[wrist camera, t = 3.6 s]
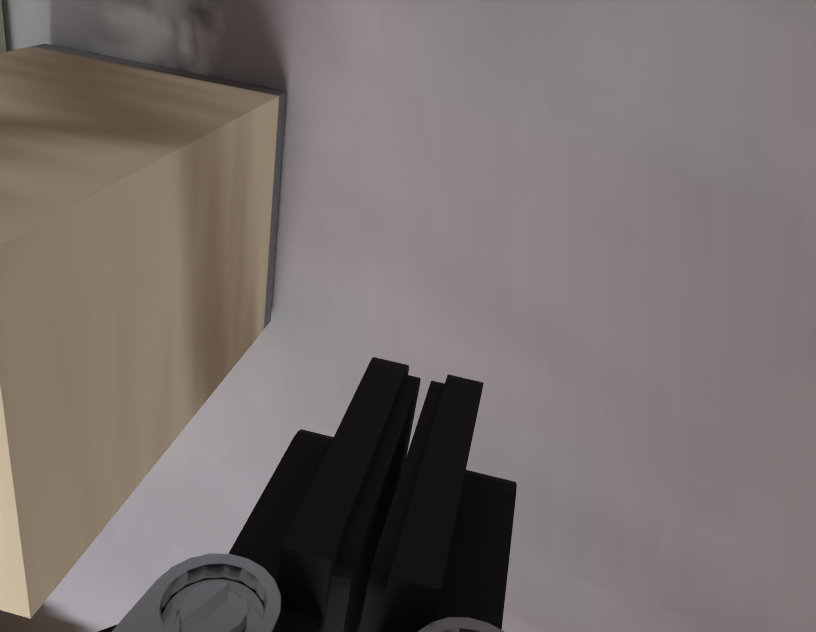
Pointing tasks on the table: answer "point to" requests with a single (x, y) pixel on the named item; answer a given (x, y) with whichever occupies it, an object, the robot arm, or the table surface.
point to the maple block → (118, 282)
